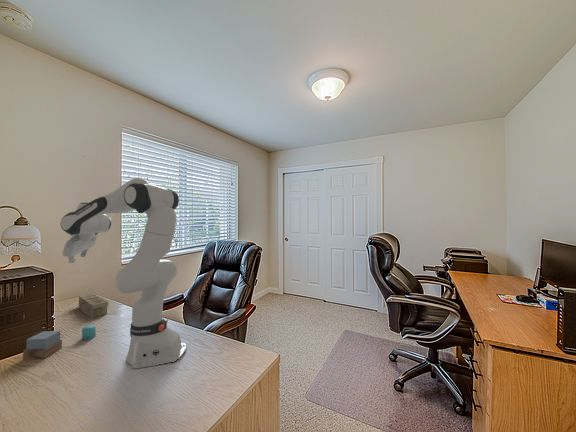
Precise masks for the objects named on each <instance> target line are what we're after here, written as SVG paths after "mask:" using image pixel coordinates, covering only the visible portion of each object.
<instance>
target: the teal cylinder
mask: <svg viewBox="0 0 576 432" xmlns="http://www.w3.org/2000/svg"><path fill="white" fill-rule="evenodd" d="M96 327H97V325H96V324H88V325H86V326H83V327H82V328H81V340H82V341H90V340H91V339H94V338H96V329H97V328H96Z"/></svg>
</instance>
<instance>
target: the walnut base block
mask: <svg viewBox="0 0 576 432" xmlns="http://www.w3.org/2000/svg"><path fill="white" fill-rule="evenodd" d="M62 343H63V339H60V340H59V341H58V342H56V343H54V344H53V345H51V346H49V347H47V348H46V349H27V350H26V348H25V349H23V352H22V360H23V361H26V360H27V361H29V360H30V361H31V360H46V359H48V358H49V357H50V356H52V355H53V354H55V353H57V352H58V351H60V350H61V349H62V348H63V344H62Z"/></svg>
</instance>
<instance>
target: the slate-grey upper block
mask: <svg viewBox="0 0 576 432" xmlns="http://www.w3.org/2000/svg"><path fill="white" fill-rule="evenodd" d="M59 340H61V330H50V331H49V330H48V331H47V330H46V331H45V330H43V331H41V332H39V333H36V334H35V335H32V336H31V337H29V338H27V339H26V344H25V345H26V348H25V349H26V350H27V349H46V348H47V347H49V346H51V345H53V344H54V343H56V342H58V341H59Z"/></svg>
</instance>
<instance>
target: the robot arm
mask: <svg viewBox="0 0 576 432" xmlns="http://www.w3.org/2000/svg"><path fill="white" fill-rule="evenodd" d="M179 204H180V197H179V195H178V193H177V192H175V191H174V190H172V189H170V188H165V187H162V186H158V185H154V184H151V183H150V182H149V181H148V180H146V179H144V178H142V177H134V178H132V179H130V180H128V181H127V182H125V183H123V184H122V185H121V186H120V187H118V188H116V189H115V190H114V191H111V192H110V193H108V194H106V195H105V194H104V195H103V196H100V197H97V198H95V199H93V200H92V201H89V202H80V203H78V205H77V207H76V208H75V209H76V210H75V211H71V212H68V213H66V214H64V216H63V217H62V218H61V220H60V227H61V229H62V230H63V231H64V232H65V233H67V234H68V235H70V238H69V239H68V240H66V242H65V244H64V246H63V250H62V256H63V257H67V258H68V263H69V264H73V263H75V261H76V259H75V257H76V255H78V254H80V255H79V256H80V258H81V257H82V258H83V257H84V258H85V257H87V253H88V251H89V250H90V248H92V247H94V245H95V244H96V239H97V237H98V235H99V234H102V233H107V232H108V231H109V230H110V228H111V226H112V222H113V221H112V218H111V217H110V216H109V215H108V214H125V213H129V212H131V211H134V210H135V211H136V212H137V213H139V214H144V213H145V214H146V217H147V220H146V224H145V227H144V231H143V235H142V238H141V242H140V245H139V246H138V247H139V248H138V250H137V251H136V253H135V255H134V256H133V257H132V258H131V260H130V261H129V262H128V263H127V264H126V265H125V266H124V267H123V268H121V269H119V270H118V272H117V273H116V276H115V278H114V284H115V287H116V289H117V290H118V291H119V292H120V293H123V294H133V293H139V292H141V293H140V295H139V296H138V298H137V299H135V301H134V302H133V303H132V307H131V308H132V310H131V312H132V313H131V315H132V316H131V323H130V328H129V331H130V332H129V336H130V341H129V347H128V348H129V349H128V352H127V355H126V358H125V362H126V363H127V364H129V365H131V368H132V369H141V368H149V367H154V366H160V365H159V364H161V365H165V364H164V363H168V364H170V363H169V362H173V361H176V360H177V359H179V358H180V357H181V356H182V355H183V353H184V352H186V351H187V344H186V343H185V342H182V339H181V336H180V334H179V333H178V332H176V331H174V330H173V329H172V328H170V327H168V322H169V319H166V320H165V319H164V317H163V311H164V309H163V308H164V299H165V295H166V294H167V290H168V287H169V286H170V284H171V283H172V281H173V280H174V278H175V277H176V276H177V273H178V272H177V271H178V268H177V265H176V264H175V263H174V262H173V261H172V260H169V259H163V258H164V257H165V256H166V255H167V254H169V252H170V250H171V247H172V244H173V243H172V242H173V239H174V235H175V230H176V224H177V212H176V209H177V207H178V206H179ZM183 346H184V347H183ZM185 350H186V351H185ZM184 354H185V353H184ZM183 356H184V355H183ZM183 356H182V357H183ZM182 357H181V358H182ZM181 358H180V359H181ZM180 359H179V360H180ZM177 361H178V360H177ZM177 361H176V362H177Z"/></svg>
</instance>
